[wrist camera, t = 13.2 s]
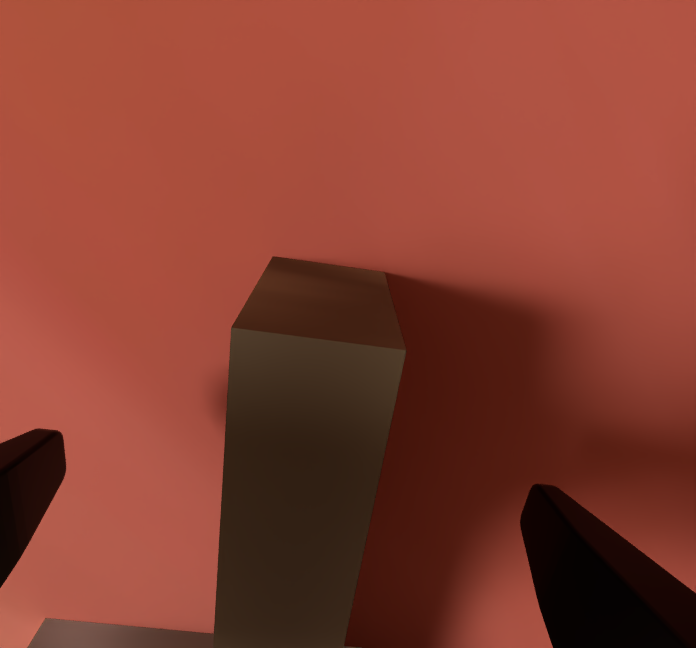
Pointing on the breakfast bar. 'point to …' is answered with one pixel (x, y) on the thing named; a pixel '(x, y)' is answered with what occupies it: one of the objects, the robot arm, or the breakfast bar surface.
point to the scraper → (291, 463)
